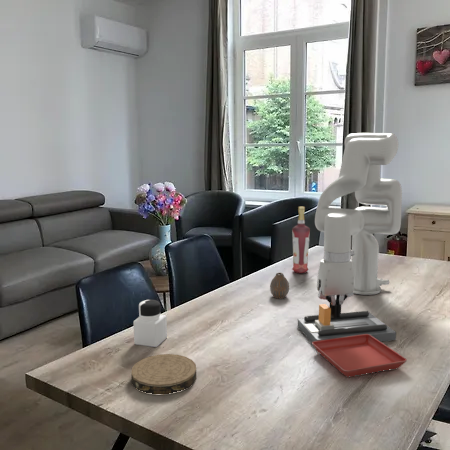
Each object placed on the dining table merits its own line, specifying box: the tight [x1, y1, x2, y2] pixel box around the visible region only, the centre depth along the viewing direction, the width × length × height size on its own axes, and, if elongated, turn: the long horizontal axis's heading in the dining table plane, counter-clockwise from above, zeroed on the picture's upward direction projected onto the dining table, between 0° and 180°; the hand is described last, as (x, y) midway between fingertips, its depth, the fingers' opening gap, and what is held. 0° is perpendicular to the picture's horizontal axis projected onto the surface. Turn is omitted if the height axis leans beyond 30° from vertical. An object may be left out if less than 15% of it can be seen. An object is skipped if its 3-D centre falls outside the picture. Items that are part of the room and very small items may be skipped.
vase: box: [269, 272, 290, 299], centre depth 182 cm, size 7×7×9 cm
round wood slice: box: [130, 353, 198, 394], centre depth 124 cm, size 16×16×3 cm
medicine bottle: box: [132, 299, 168, 348], centre depth 145 cm, size 7×7×12 cm
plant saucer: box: [311, 334, 408, 378], centre depth 132 cm, size 18×18×3 cm
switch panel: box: [297, 310, 397, 343], centre depth 150 cm, size 24×16×4 cm, turn 101°
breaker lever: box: [315, 303, 334, 330], centre depth 148 cm, size 4×5×6 cm
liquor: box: [291, 206, 311, 275], centre depth 211 cm, size 7×7×28 cm
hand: (335, 316), depth 148 cm, fingers closed
